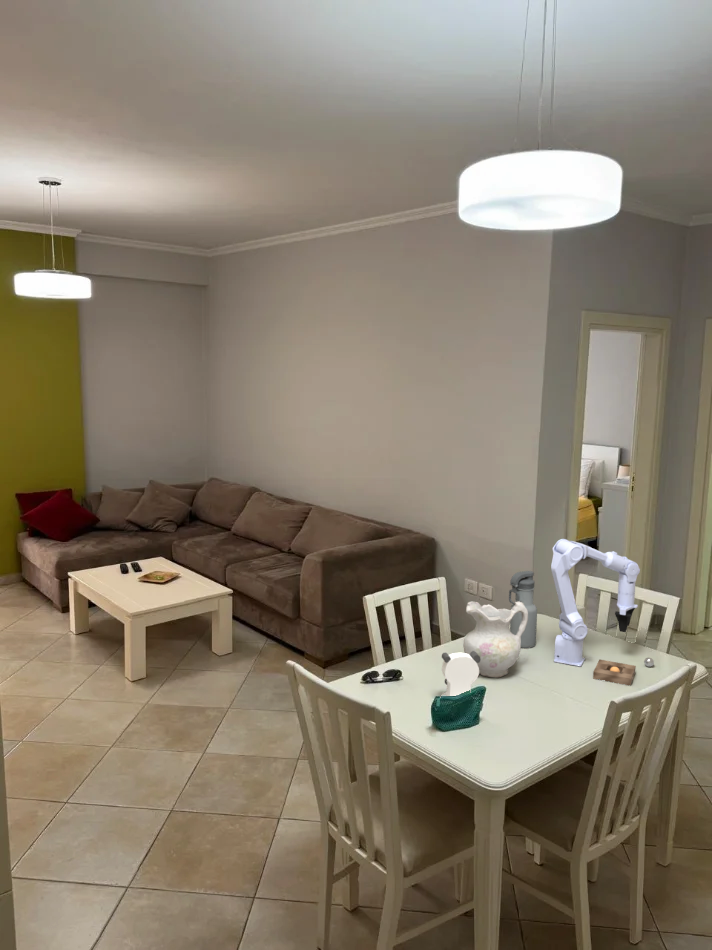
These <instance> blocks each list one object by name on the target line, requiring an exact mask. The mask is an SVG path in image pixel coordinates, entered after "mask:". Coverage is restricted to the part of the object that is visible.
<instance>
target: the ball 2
mask: <svg viewBox="0 0 712 950" xmlns="http://www.w3.org/2000/svg"><path fill="white" fill-rule="evenodd" d="M643 663H644V665H645V666H646V667H648V668H650V667H653V666H654V665H655V660H654V659H653V658H652V657H649V656H648V657H646V658H645V659H644V660H643Z"/></svg>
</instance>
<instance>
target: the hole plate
mask: <svg viewBox="0 0 712 950" xmlns="http://www.w3.org/2000/svg"><path fill="white" fill-rule="evenodd" d="M612 667H617V668H619V670H620V672H614V671H610V669H611V668H612ZM636 669H637V666H636V665H633V664H627V663H624V662H623V663H622V662H618V661H617V662H615V661H611V660H605V659H598V662H597V664H596V666H595V668H594V669H593V671H592V679H594V680H597V679H600V680H599V681H602V680H605V681H604V682H608V681H610V683H613V682H614V684H618V683H619V684H620V685H623V684H625V686H629V685H632V683H633V681H634V678H635V675H636V671H637V670H636Z"/></svg>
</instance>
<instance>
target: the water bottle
mask: <svg viewBox="0 0 712 950" xmlns="http://www.w3.org/2000/svg"><path fill="white" fill-rule="evenodd" d="M534 574H535V573H534V571H531V570H525V571H517V572H515V573H514V574H513V576H512V577H511V578H510V584H509V585H510V586H511V589H509V590H508V602H509V603H510V604H511V606H510V610H511V609H512V608H513V607H514V603H515V602H517V601H520V602H521V601H522V603H524V606H525V608H526V609H527V611H528V621H527V625H526V627H525V631H524V632H523V634H522V635H521V647H520V649H531V648H534V647H535V646H536V644H537V625H538V624H537V622H538V608H537V606H536V604H534V590H535V580H534V576H535V575H534ZM512 593H514V594H515V602H514V601H513V600H512ZM521 622H522V614H521V612H519V613H517V614H515V615H514V616H513V617H512V620H511V622H510V625H509V629H510V632H511V633H512V634H514V635H516V634H517V632H518V629H519V626H520V624H521Z"/></svg>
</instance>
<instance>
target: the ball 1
mask: <svg viewBox="0 0 712 950" xmlns="http://www.w3.org/2000/svg"><path fill="white" fill-rule="evenodd" d="M610 671H614V672H620V670H619V668H617V667H612V668H611V669H610Z"/></svg>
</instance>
